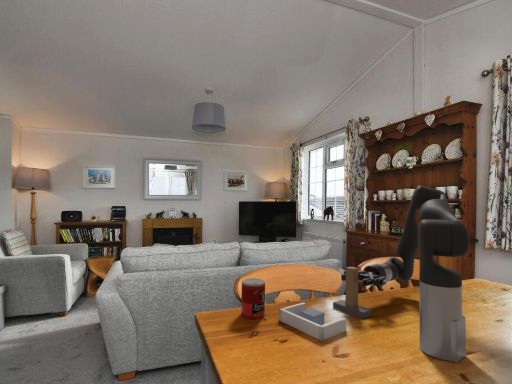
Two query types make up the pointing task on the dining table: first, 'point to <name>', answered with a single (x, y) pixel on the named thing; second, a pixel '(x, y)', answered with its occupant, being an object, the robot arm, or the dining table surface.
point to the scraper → (352, 296)
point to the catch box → (310, 323)
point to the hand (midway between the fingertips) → (352, 280)
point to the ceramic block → (313, 316)
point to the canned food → (253, 298)
